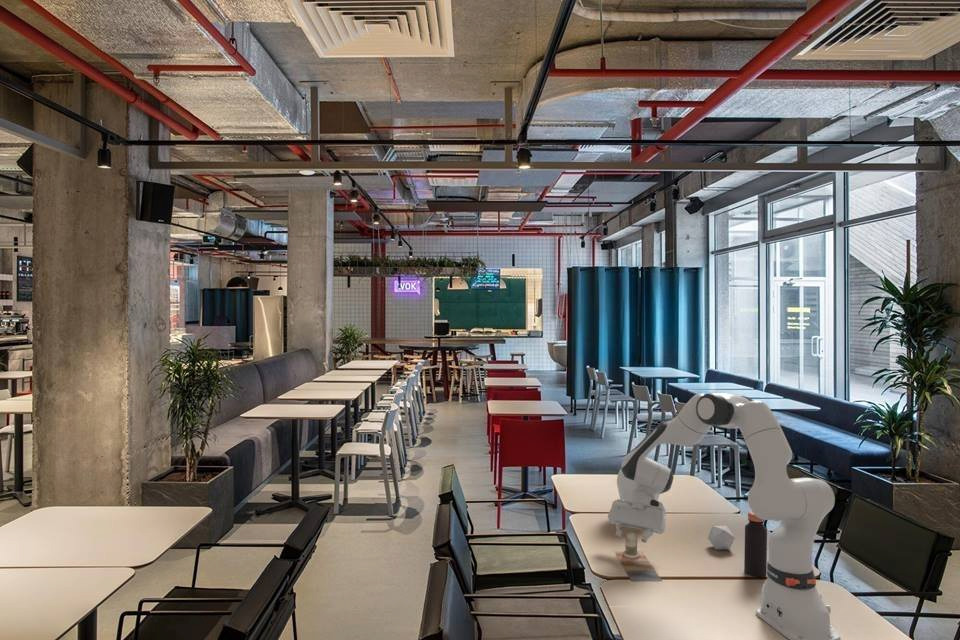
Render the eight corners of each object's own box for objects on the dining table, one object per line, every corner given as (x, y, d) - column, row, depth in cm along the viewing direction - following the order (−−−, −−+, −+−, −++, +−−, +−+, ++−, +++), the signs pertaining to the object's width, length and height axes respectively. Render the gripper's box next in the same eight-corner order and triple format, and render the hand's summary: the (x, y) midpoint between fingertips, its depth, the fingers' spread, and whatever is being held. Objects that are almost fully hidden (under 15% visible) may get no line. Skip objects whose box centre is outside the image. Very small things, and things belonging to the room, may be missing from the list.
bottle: (739, 570, 207) (740, 510, 206) (755, 567, 209) (756, 508, 209) (755, 578, 201) (756, 517, 200) (771, 575, 203) (772, 515, 203)
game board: (662, 582, 198) (662, 581, 198) (631, 582, 198) (631, 581, 198) (642, 552, 222) (642, 551, 222) (614, 552, 222) (614, 551, 222)
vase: (643, 509, 268) (644, 452, 268) (669, 523, 252) (670, 462, 251) (608, 514, 262) (608, 455, 261) (633, 528, 245) (633, 465, 245)
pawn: (641, 559, 215) (641, 534, 215) (625, 559, 215) (625, 534, 215) (637, 552, 220) (637, 528, 220) (621, 552, 220) (621, 528, 220)
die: (731, 556, 220) (741, 532, 223) (709, 543, 221) (720, 519, 224) (722, 555, 228) (732, 532, 230) (700, 542, 229) (711, 519, 232)
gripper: (611, 494, 229) (600, 527, 221) (666, 504, 217) (656, 540, 210) (616, 502, 233) (605, 536, 225) (670, 513, 221) (661, 549, 213)
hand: (630, 538), depth 217 cm, fingers open, 8 cm apart
